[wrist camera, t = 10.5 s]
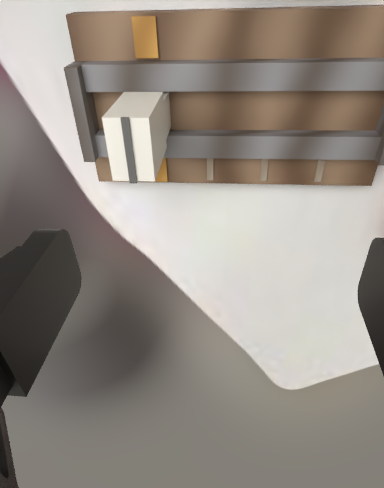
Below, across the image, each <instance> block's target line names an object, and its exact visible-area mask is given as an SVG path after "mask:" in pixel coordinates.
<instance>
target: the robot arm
mask: <svg viewBox="0 0 384 488" xmlns="http://www.w3.org/2000/svg"><path fill="white" fill-rule="evenodd" d="M80 287H81V272H80V268H79V265H78V262H77V259H76V255H75V252H74V248H73V245H72V242H71V238H70V235H69V233H68V232H67V231H66V230H64V229H36V230H35V231H34V232H33V233H32V234H31V235H30V237H29V238H28V239H27V240H26V241H25V243H24V244H23V245H22V246H18V247H16V248H15V249H13V250H12V251H11V252H9V253H7V254H6V255H5V256H3V257H2V258H0V488H19V487H18V483H17V479H16V474H15V468H14V463H13V457H12V452H11V447H10V441H9V436H8V431H7V425H6V420H5V415H4V411H3V409H2V408H1V406H2V404H3V402H4V400H5V399H6V397H7V395H12V396H25V397H26V396H27V394H28V392H29V390H30V389H31V387H32V385H33V383H34V381H35V379H36V377H37V375H38V373H39V371H40V369H41V366H42V365H43V363H44V361H45V359H46V357H47V355H48V353H49V351H50V349H51V347H52V345H53V343H54V341H55V339H56V337H57V335H58V333H59V331H60V329H61V327H62V325H63V323H64V321H65V319H66V317H67V316H68V314H69V312H70V310H71V308H72V306H73V304H74V302H75V300H76V298H77V296H78V294H79V291H80ZM358 303H359V307H360V310H361V313H362V316H363V319H364V322H365V324H366V327H367V330H368V333H369V336H370V339H371V341H372V344H373V347H374V350H375V353H376V356H377V358H378V361H379V364H380V367H381V370H382V372H383V375H384V238H375V239H374V240H373V241H372V243H371V245H370V249H369V252H368V255H367V258H366V262H365V265H364V268H363V271H362V275H361V278H360V281H359V285H358Z"/></svg>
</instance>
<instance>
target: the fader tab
mask: <svg viewBox="0 0 384 488" xmlns="http://www.w3.org/2000/svg"><path fill="white" fill-rule="evenodd" d="M102 122H103V128H104V134H105V139H106V145H107V151H108V157H109V162H110V168H111V174H112V180H113V181H129V182H130V183H137V181H151V182H155V180H156V177H157V174H158V172H159V169H160V166H161V163H162V160H163V157H164V155H165V152H166V149H167V141H166V139H167V136H168V134H169V131H170V128H171V116H170V100H169V92H123V94H122V95H121V96H120V97H119V98H118V99H117V101H116V102H115V103H114V104H113V105H112V106H111V108H110V109H109V110H108V111H107V112H106V113H105V115H104V116H103V117H102Z"/></svg>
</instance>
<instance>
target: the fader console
mask: <svg viewBox="0 0 384 488" xmlns="http://www.w3.org/2000/svg"><path fill="white" fill-rule="evenodd" d="M66 18H67V23H68V29H69V34H70V39H71V44H72V49H73V54H74V59H75V61H74V62H73V63H71V64H69V65H68V66H66V67H64V71H65V76H66V80H67V85H68V89H69V94H70V99H71V103H72V108H73V112H74V117H75V121H76V126H77V131H78V135H79V140H80V144H81V149H82V153H83V158H84V162H95V164H96V169H97V174H98V179H99V181H113V180H112V174H111V168H110V162H109V157H108V151H107V145H106V139H105V134H104V128H103V122H102V117H103V116H104V115H105V113H106V112H107V111H108V110H109V109H110V108H111V106H112V105H113V104H114V103H115V102H116V101H117V99H118V98H119V97H120V96H121V95H122V94H123V92H169V100H170V116H171V128H170V131H169V134H168V136H167V139H166V141H167V149H166V152H165V155H164V157H163V160H162V163H161V166H160V169H159V172H158V174H157V177H156V180H155V182H176V183H238V184H300V185H362V186H371V185H372V182H373V179H374V175H375V172H376V169H377V165H384V5H361V6H318V7H275V8H232V9H190V10H147V11H104V12H74V13H70V14H67V15H66ZM114 182H129V181H114ZM137 182H151V181H137Z"/></svg>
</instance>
